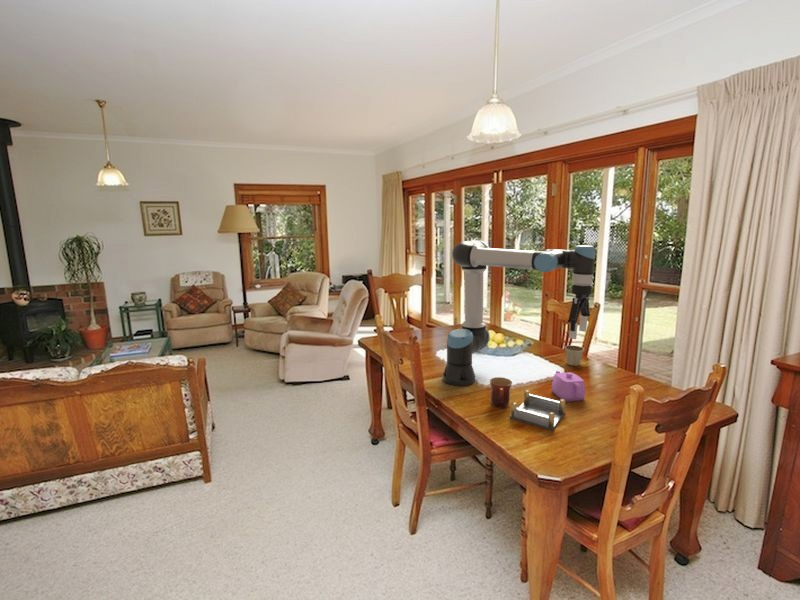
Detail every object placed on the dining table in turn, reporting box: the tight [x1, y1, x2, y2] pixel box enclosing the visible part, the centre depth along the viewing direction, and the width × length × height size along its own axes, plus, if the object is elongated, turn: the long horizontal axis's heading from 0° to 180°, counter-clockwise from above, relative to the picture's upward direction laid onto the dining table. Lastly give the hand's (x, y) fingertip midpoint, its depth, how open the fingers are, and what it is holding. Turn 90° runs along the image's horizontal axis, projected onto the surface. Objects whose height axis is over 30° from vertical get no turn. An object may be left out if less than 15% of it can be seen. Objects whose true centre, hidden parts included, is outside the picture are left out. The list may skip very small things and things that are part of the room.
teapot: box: [551, 370, 586, 402], centre depth 176 cm, size 18×10×10 cm, turn 8°
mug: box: [489, 376, 513, 409], centre depth 166 cm, size 12×9×10 cm
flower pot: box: [564, 344, 585, 367], centre depth 213 cm, size 9×9×9 cm
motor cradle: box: [509, 389, 566, 431], centre depth 158 cm, size 16×16×6 cm
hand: (577, 334), depth 171 cm, fingers open, 13 cm apart
